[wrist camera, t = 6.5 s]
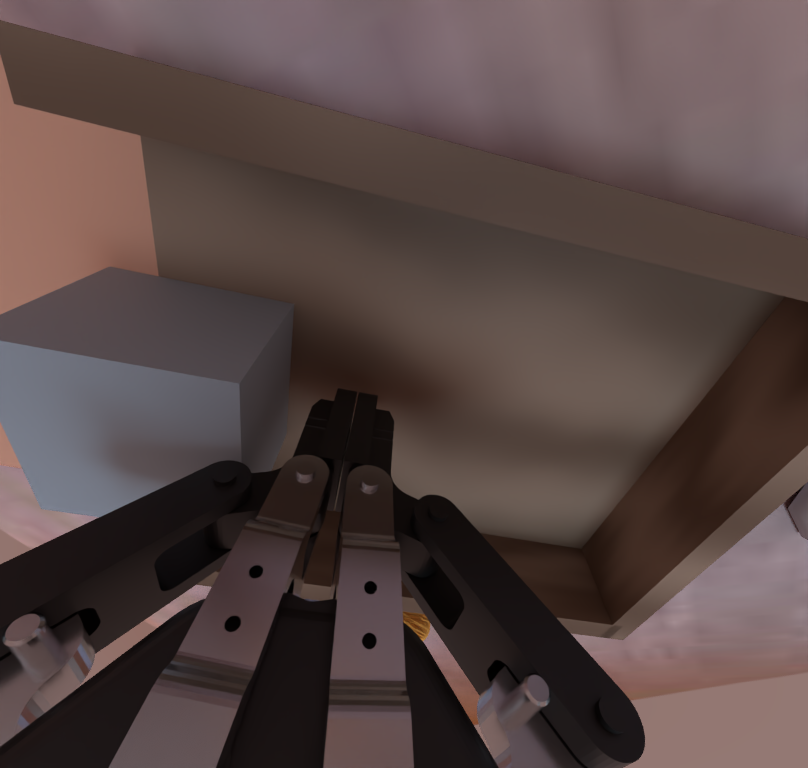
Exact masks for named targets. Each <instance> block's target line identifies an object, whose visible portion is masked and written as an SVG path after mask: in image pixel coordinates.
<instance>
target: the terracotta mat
mask: <svg viewBox="0 0 808 768" xmlns="http://www.w3.org/2000/svg"><path fill="white" fill-rule="evenodd" d="M107 267H115V268H120V269H125V270H129V271H134V272H139V273H144V274H149V275H154V276H159V275H158V267H157V259H156V252H155V244H154V236H153V229H152V221H151V214H150V206H149V198H148V191H147V183H146V176H145V168H144V160H143V153H142V145H141V137H140V135H136V134H132V133H128V132H124V131H120V130H116V129H112V128H108V127H104V126H100V125H96V124H92V123H88V122H84V121H80V120H76V119H72V118H68V117H64V116H60V115H56V114H52V113H48V112H44V111H40V110H36V109H32V108H28V107H24V106H20V105H16V104H14V102H13V99H12V95H11V91H10V88H9V84H8V80H7V77H6V73H5V69H4V66H3V62H2V58H1V55H0V314H3V313H5V312H7V311H9V310H12V309H14V308H16V307H19V306H21V305H23V304H25V303H28V302H30V301H32V300H34V299H37V298H39V297H41V296H44V295H46V294H48V293H50V292H53V291H55V290H57V289H59V288H62V287H64V286H66V285H69V284H71V283H73V282H75V281H78V280H80V279H82V278H84V277H87V276H89V275H91V274H94V273H96V272H98V271H100V270H103V269H105V268H107ZM0 465H3V466H9V467H16V468H22V467H21V465H20V463H19V461H18V459H17V456H16V454H15V452H14V450H13V448H12V446H11V444H10V442H9V440H8V438H7V435H6V433H5V431H4V429H3V427H2V425H1V423H0Z"/></svg>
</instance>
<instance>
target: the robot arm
mask: <svg viewBox="0 0 808 768" xmlns="http://www.w3.org/2000/svg"><path fill="white" fill-rule="evenodd" d="M356 397H357V391H351V390H346V389H341V388H338V389H337V393H336V396H335V399H334V401H330V400H325V399H320V400H319V401H318V402H316V403H315V404H314V405H313V406H312V407H311V410H310V413H309V415H308V418H307V421H306V423H305V426H304V429H303V431H302V434H301V437H300V439H299V442H298V445H297V447H296V450H295V452H294V455H293V457H292V458H291V459H289V460H288V461H286V463H285V464H284V465H283V467H281V468H279V469H276V470H273V471H268V472H258V473H251V471H250V469H249V468H248V467H247V466H246V465H245V464H243V463H241V462H238V461H233V460H225V461H219V462H216V463H213V464H211V465H209V466H207V467H205V468H202V469H200V470H198V471H196V472H194V473H192V474H190V475H188V476H186V477H183V478H181V479H179V480H177V481H175V482H173V483H171V484H169V485H167V486H164V487H162V488H160V489H158V490H156V491H154V492H152V493H150V494H148V495H146V496H143V497H141V498H139V499H137V500H135V501H133V502H131V503H129V504H127V505H124V506H122V507H120V508H118V509H116V510H114V511H112V512H110V513H108V514H105V515H103V516H101V517H99V518H97V519H95V520H93V521H91V522H89V523H87V524H84V525H82V526H80V527H78V528H76V529H74V530H72V531H70V532H68V533H65V534H63V535H61V536H59V537H57V538H55V539H53V540H51V541H49V542H47V543H44V544H42V545H40V546H38V547H36V548H34V549H32V550H30V551H28V552H25V553H24V554H21V555H19V556H17V557H15V558H13V559H11V560H9V561H7V562H4V563H2V564H0V768H623V767H625V766H627V765H629V764H631V763H633V762H635V761H636V760H638V759H639V758H640V757H641V755H642V753H643V750H644V747H645V735H644V729H643V726H642V723H641V720H640V717H639V715H638V713H637V711H636V709H635V707H634V706H633V704H632V703H631V701H630V700H629V698H628V697H627V696H626V695H625V694H624V692H623V691H622V690H621V689H620V688H619V687H618V686H617V685H616V684H615V682H614V681H613V680H612V679H611V678H610V677H609V676H608V675H607V674H606V672H605V671H604V670H603V669H602V668H601V667H600V666H599V665H598V664H597V662H596V661H595V660H594V659H593V658H592V657H591V656H590V655H589V654H588V652H587V651H586V650H585V649H584V648H583V647H582V646H581V645H580V644H579V642H578V641H577V640H576V639H575V638H574V637H573V636H572V635H571V634H570V632H569V631H568V630H567V629H566V628H565V627H564V626H563V625H562V624H561V622H560V621H559V620H558V619H557V618H556V617H555V616H554V615H553V614H552V612H551V611H550V610H549V609H548V608H547V607H546V606H545V605H544V604H543V602H542V601H541V600H540V599H539V598H538V597H537V596H536V595H535V594H534V592H533V591H532V590H531V589H530V588H529V587H528V586H527V585H526V584H525V582H524V581H523V580H522V579H521V578H520V577H519V576H518V575H517V574H516V572H515V571H514V570H513V569H512V568H511V567H510V566H509V565H508V564H507V562H506V561H505V560H504V559H503V558H502V557H501V556H500V555H499V554H498V552H497V551H496V550H495V549H494V548H493V547H492V546H491V545H490V544H489V542H488V541H487V540H486V539H485V538H484V537H483V536H482V535H481V534H480V532H479V531H478V530H477V529H476V528H475V527H474V526H473V525H472V524H471V522H470V521H469V520H468V519H467V518H466V517H465V516H464V515H463V514H462V512H461V511H460V510H459V509H458V508H457V507H456V506H455V505H454V504H453V503H452V502H451V501H450V500H448V499H447V498H445V497H442V496H439V495H426V496H423V497H421V498H420V499H419V500H418V499H416V498H414V497H412V496H410V495H407V494H406V493H404V492H402V491H401V490H400V489H399V488H398V487H397V486H396V485H395V484H394V482H393V480H392V477H391V463H392V449H393V434H394V433H393V432H394V419H393V417H392V415H391V413H390V411H385V410H380V409H376V407H377V400H378V395H373V394H368V393H362V392H359V394H358V398H357V403H356ZM355 403H356V408H355ZM354 408H355V412H354ZM353 414H354V417H353ZM352 420H353V422H352ZM351 425H352V426H351ZM350 430H351V431H350ZM343 463H344V464H343ZM342 468H343V469H342ZM341 473H342V475H341ZM340 477H341V481H340ZM339 482H340V486H339ZM338 487H339V492H338V498H337V503H336V509H335V511H336V512H341V514H340V519H339V525H338V530H337V535H336V544H335V554H334V563H333V572H332V581H331V590H330V598H329V600H322V601H313V602H312V601H307V600H305V599H302V598H300V594H301V590H302V587H303V583H304V580H305V577H306V574H307V571H308V568H309V565H310V562H311V559H312V556H313V553H314V550H315V547H316V544H317V541H318V538H319V535H320V531H321V527H322V526H323V523H324V520H325V515H326V511H327V510H329V511H333V510H334V505H335V500H336V496H337V491H338ZM221 567H222V569H221V571H220V573H219V574H218V576H217V578H216V580H215V582H214V584H213V586H212V588H211V589H210V591H209V593H208V595H207V597H206V599H203V600H200V601H198V602H196V603H194V604H192V605H190V606H188V607H187V608H185V609H183V610H182V611H180V612H178V613H177V614H176V615H174V616H173V617H171V618H170V619H169V620H167V621H166V622H165V623H163V624H162V625H161V626H159V627H158V628H157V629H155V630H154V631H153V632H152V633H150V634H149V635H148V636H146V637H145V638H144V639H142V640H141V641H140V642H138V643H137V644H136V645H134V646H133V647H132V648H130V649H129V650H128V651H126V652H125V653H124V654H122V655H121V656H120V657H118V658H117V659H116V660H115V661H113V662H112V663H111V664H109V665H108V666H107V667H105V668H104V669H102V670H101V671H100V672H99V673H97V674H96V675H95V676H93V677H92V678H91V679H89V680H88V681H87V682H85V683H84V684H83V685H81V686H80V687H79V688H77V687H78V686H79V685H80V684H81V683H82V682H83V680H84V679H85V678H86V676H87V675H88V673H89V671H90V669H91V667H92V665H93V662H94V657H95V654H96V653H97V652H98V651H100V650H101V649H103V648H104V647H106V646H107V645H109V644H110V643H112V642H113V641H114V640H116V639H117V638H119V637H120V636H122V635H123V634H125V633H126V632H128V631H129V630H130V629H132V628H133V627H135V626H136V625H138V624H139V623H141V622H142V621H144V620H145V619H147V618H148V617H150V616H151V615H152V614H154V613H155V612H157V611H158V610H160V609H161V608H163V607H164V606H166V605H167V604H169V603H170V602H171V601H173V600H174V599H176V598H177V597H179V596H180V595H182V594H183V593H185V592H186V591H187V590H189V589H190V588H192V587H193V586H195V585H196V584H198V583H199V582H201V581H202V580H204V579H205V578H206V577H208V576H209V575H211V574H212V573H214V572H215V571H217V570H218V569H220V568H221ZM401 580H402V582H403V583H404V585H405V586H406V588H407V589H408V591H409V592H410V593H411V595H412V596H413V598H414V599H415V601H416V602H417V604H418V605H419V607H420V608H421V610H422V611H423V613H424V614H425V616H426V617H427V619H428V620H429V621H430V623H431V624H432V626H433V627H434V629H435V630H436V632H437V633H438V635H439V636H440V638H441V639H442V641H443V642H444V644H445V645H446V647H447V648H448V650H449V651H450V652H451V654H452V655H453V657H454V658H455V660H456V661H457V663H458V664H459V666H460V667H461V669H462V670H463V672H464V673H465V675H466V676H467V678H468V679H469V681H470V682H471V683H472V685H473V686H474V688H475V689H476V691H477V692H478V694H479V695H480V697H479V700H478V706H477V716H478V722H479V726H480V729H481V732H482V734H483V736H484V738H485V740H486V742H487V744H488V746H489V749H490V752H491V754H490V752H489V750H488V749H487V747H486V745H485V744H484V742H483V740H482V739H481V737H480V735H479V734H478V732H477V730H476V729H475V727H474V725H473V724H472V722H471V720H470V719H469V717H468V715H467V714H466V712H465V710H464V709H463V707H462V705H461V704H460V702H459V700H458V699H457V697H456V695H455V694H454V692H453V690H452V689H451V687H450V685H449V684H448V682H447V680H446V679H445V677H444V675H443V674H442V672H441V670H440V669H439V667H438V665H437V664H436V662H435V660H434V659H433V657H432V655H431V654H430V652H429V650H428V649H427V647H426V645H425V644H424V642H423V641H422V640H421V639H420V637H419V636H418V635H417V634H416V633H415V632H414V631H413V630H412V629H411V628H410V627H409V626H408V625H407V624H405V623H404V622H403V609H402V586H401ZM76 688H77V689H76ZM75 689H76V690H75Z"/></svg>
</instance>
